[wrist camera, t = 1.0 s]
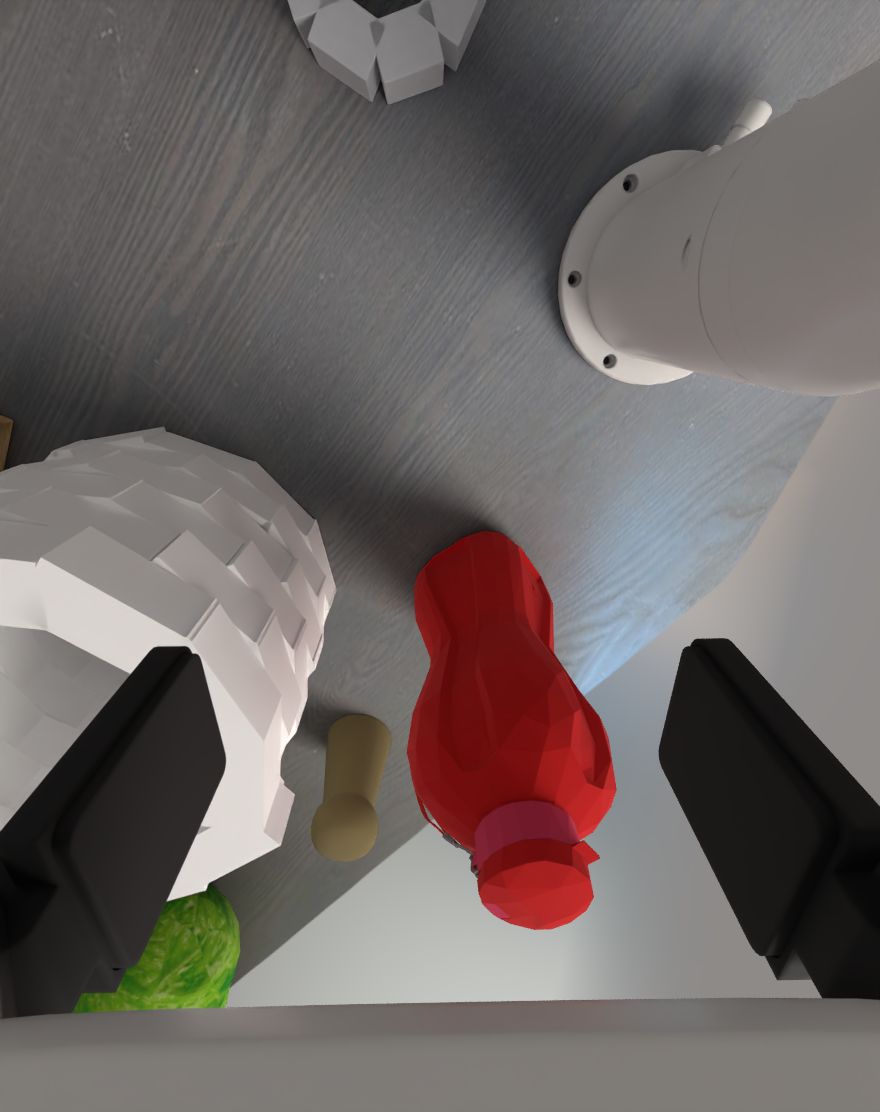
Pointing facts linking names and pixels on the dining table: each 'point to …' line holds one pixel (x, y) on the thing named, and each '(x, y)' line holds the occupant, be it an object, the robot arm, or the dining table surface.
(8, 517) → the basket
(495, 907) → the water bottle
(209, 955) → the lettuce
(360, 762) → the pepper shaker
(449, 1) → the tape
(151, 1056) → the robot arm
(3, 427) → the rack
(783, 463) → the dining table surface
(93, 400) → the dining table surface
